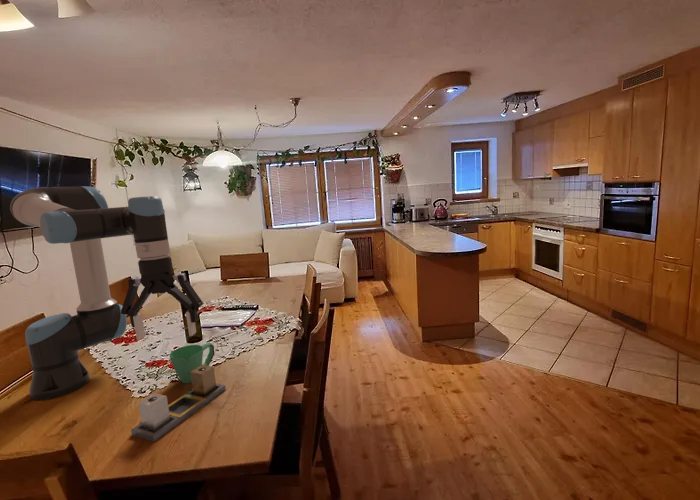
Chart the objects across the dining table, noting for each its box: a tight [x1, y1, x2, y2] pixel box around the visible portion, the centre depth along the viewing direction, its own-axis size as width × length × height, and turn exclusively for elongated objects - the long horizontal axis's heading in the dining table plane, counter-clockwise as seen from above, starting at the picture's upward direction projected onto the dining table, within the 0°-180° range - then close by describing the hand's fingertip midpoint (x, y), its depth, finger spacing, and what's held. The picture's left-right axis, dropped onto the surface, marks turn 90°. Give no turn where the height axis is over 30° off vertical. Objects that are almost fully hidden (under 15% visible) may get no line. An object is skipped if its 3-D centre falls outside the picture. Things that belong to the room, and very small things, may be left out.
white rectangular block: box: [137, 392, 171, 433], centre depth 90 cm, size 4×4×8 cm
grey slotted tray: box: [130, 383, 227, 443], centre depth 97 cm, size 8×24×2 cm, turn 156°
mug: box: [169, 342, 215, 384], centre depth 116 cm, size 15×10×10 cm
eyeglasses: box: [209, 330, 264, 355], centre depth 141 cm, size 16×15×5 cm
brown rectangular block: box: [190, 364, 217, 397], centre depth 104 cm, size 4×4×8 cm
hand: (167, 336), depth 94 cm, fingers open, 13 cm apart
